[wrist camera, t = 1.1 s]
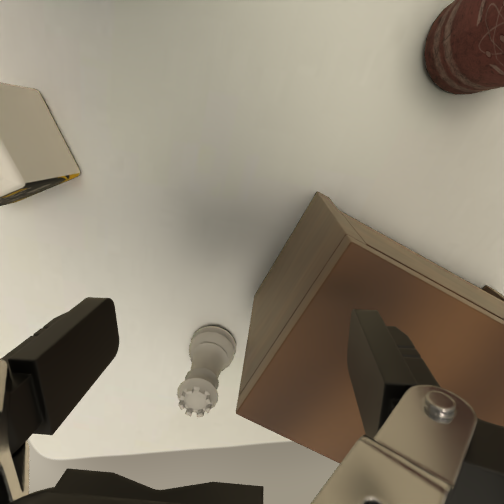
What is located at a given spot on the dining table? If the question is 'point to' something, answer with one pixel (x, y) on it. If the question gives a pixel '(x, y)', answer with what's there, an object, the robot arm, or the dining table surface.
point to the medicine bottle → (30, 146)
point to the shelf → (338, 324)
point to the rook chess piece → (205, 369)
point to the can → (467, 47)
